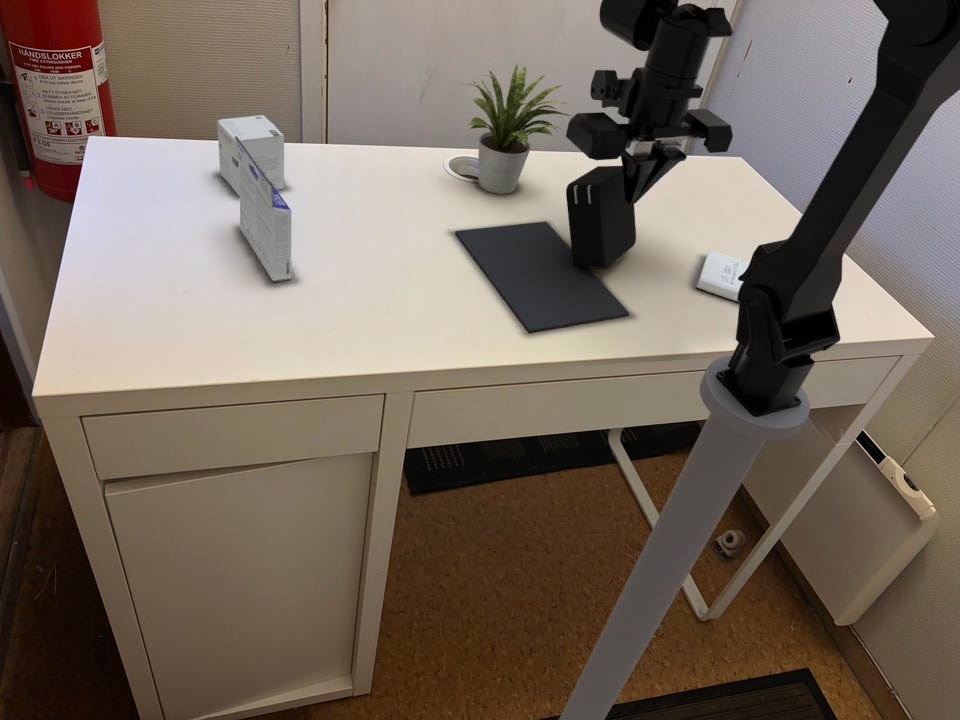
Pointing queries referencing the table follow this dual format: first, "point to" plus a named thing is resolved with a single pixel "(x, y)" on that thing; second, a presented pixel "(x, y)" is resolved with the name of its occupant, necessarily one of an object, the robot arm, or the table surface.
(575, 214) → the electronic device
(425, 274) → the table surface
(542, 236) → the mat
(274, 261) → the ink box
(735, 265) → the hard drive
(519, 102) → the house plant
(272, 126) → the white cardboard box
